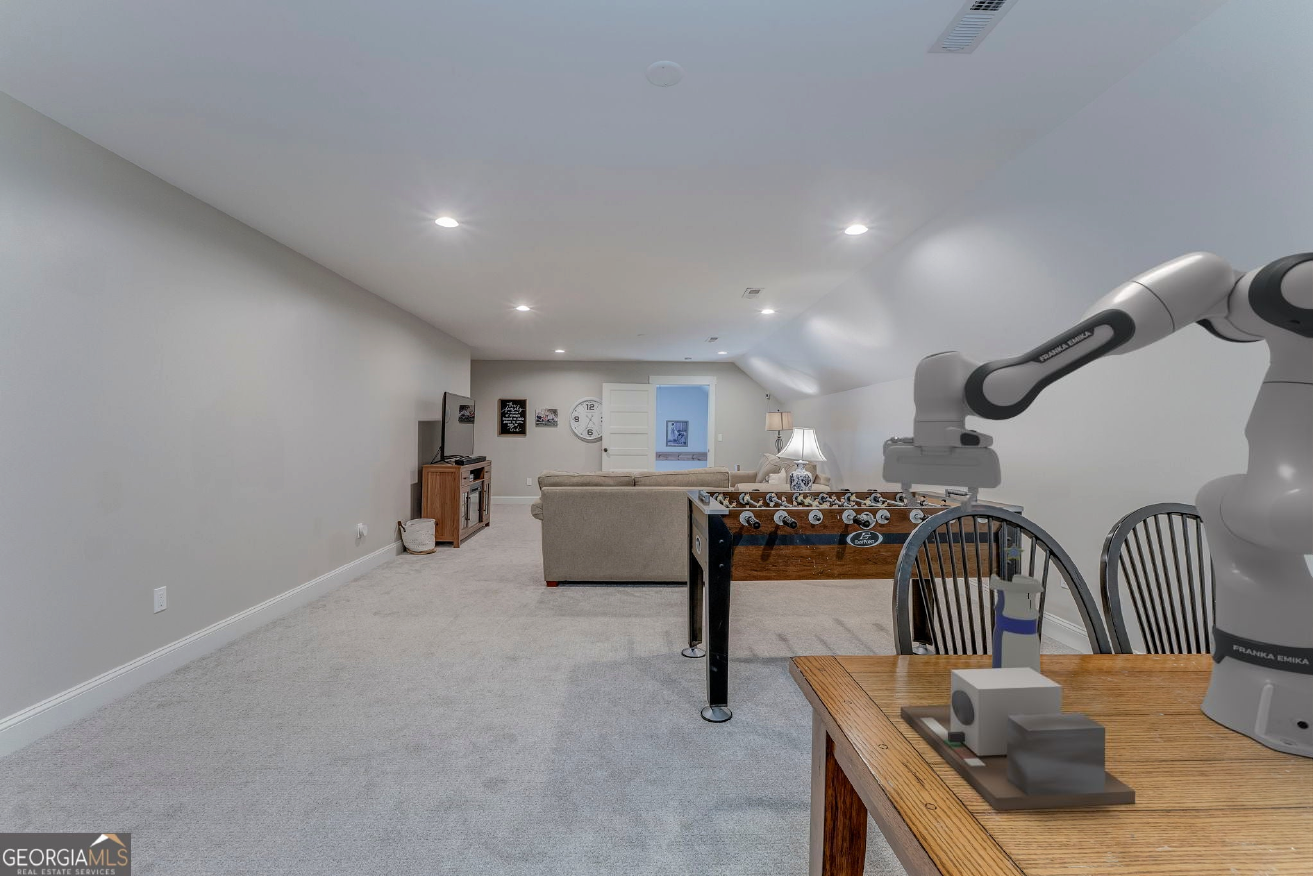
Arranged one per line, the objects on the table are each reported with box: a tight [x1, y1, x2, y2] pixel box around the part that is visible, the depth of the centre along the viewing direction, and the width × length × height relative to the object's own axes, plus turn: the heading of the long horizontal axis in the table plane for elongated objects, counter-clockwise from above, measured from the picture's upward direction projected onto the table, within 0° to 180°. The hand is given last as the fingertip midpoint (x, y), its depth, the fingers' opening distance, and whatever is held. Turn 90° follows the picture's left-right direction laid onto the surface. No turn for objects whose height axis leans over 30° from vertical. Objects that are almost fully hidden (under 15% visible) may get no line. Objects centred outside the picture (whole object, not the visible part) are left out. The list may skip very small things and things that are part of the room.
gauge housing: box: [948, 667, 1063, 756], centre depth 75 cm, size 8×14×9 cm, turn 94°
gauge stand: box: [900, 704, 1136, 811], centre depth 77 cm, size 22×18×10 cm
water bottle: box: [988, 543, 1045, 675], centre depth 99 cm, size 8×9×25 cm
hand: (938, 509), depth 104 cm, fingers open, 8 cm apart
